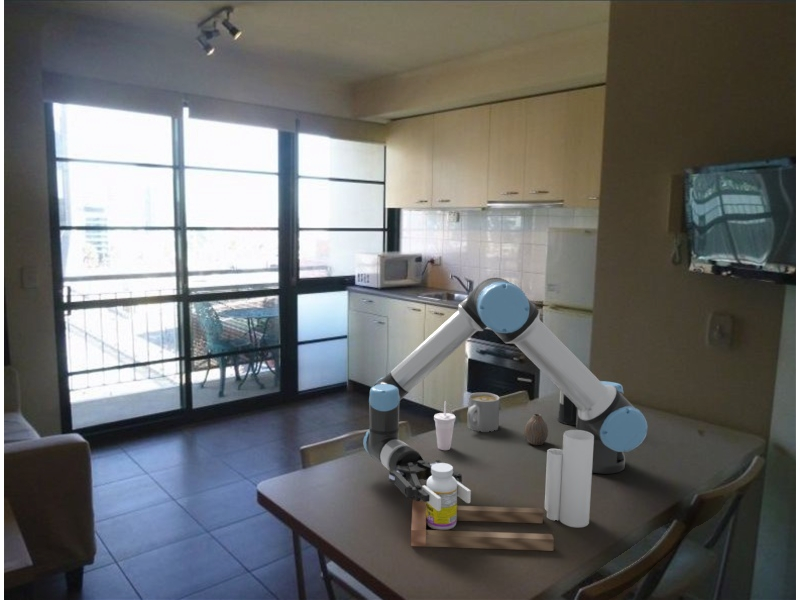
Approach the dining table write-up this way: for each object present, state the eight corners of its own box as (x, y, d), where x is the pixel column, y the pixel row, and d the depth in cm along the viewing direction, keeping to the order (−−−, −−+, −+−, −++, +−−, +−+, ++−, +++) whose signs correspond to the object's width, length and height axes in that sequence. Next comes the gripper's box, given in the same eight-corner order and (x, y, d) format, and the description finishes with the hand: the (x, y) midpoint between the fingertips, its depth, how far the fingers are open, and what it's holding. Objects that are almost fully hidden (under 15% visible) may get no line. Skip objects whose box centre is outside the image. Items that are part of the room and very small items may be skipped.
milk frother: (556, 415, 204) (558, 374, 202) (603, 418, 201) (606, 376, 199) (560, 430, 190) (562, 385, 188) (611, 433, 187) (614, 388, 185)
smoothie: (455, 444, 177) (456, 399, 175) (454, 452, 170) (456, 405, 168) (433, 443, 177) (434, 398, 175) (432, 451, 171) (433, 404, 169)
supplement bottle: (423, 516, 130) (424, 461, 128) (453, 515, 131) (454, 460, 129) (427, 532, 123) (428, 474, 122) (459, 531, 124) (460, 473, 122)
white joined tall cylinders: (594, 520, 132) (599, 435, 130) (578, 531, 128) (583, 443, 125) (551, 502, 141) (555, 421, 138) (533, 512, 136) (537, 429, 133)
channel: (540, 518, 133) (541, 504, 132) (553, 550, 120) (554, 534, 119) (412, 514, 134) (412, 500, 133) (411, 545, 121) (411, 529, 121)
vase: (534, 448, 174) (535, 420, 173) (519, 440, 180) (520, 413, 179) (552, 444, 177) (553, 416, 176) (537, 437, 183) (538, 410, 182)
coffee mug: (482, 419, 199) (483, 390, 198) (504, 427, 191) (505, 397, 190) (453, 427, 191) (454, 397, 189) (475, 436, 183) (476, 405, 182)
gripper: (436, 467, 147) (492, 507, 127) (365, 483, 138) (413, 528, 118) (436, 438, 146) (493, 474, 126) (365, 452, 137) (413, 493, 117)
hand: (454, 500), depth 122 cm, fingers closed on supplement bottle, 7 cm apart
